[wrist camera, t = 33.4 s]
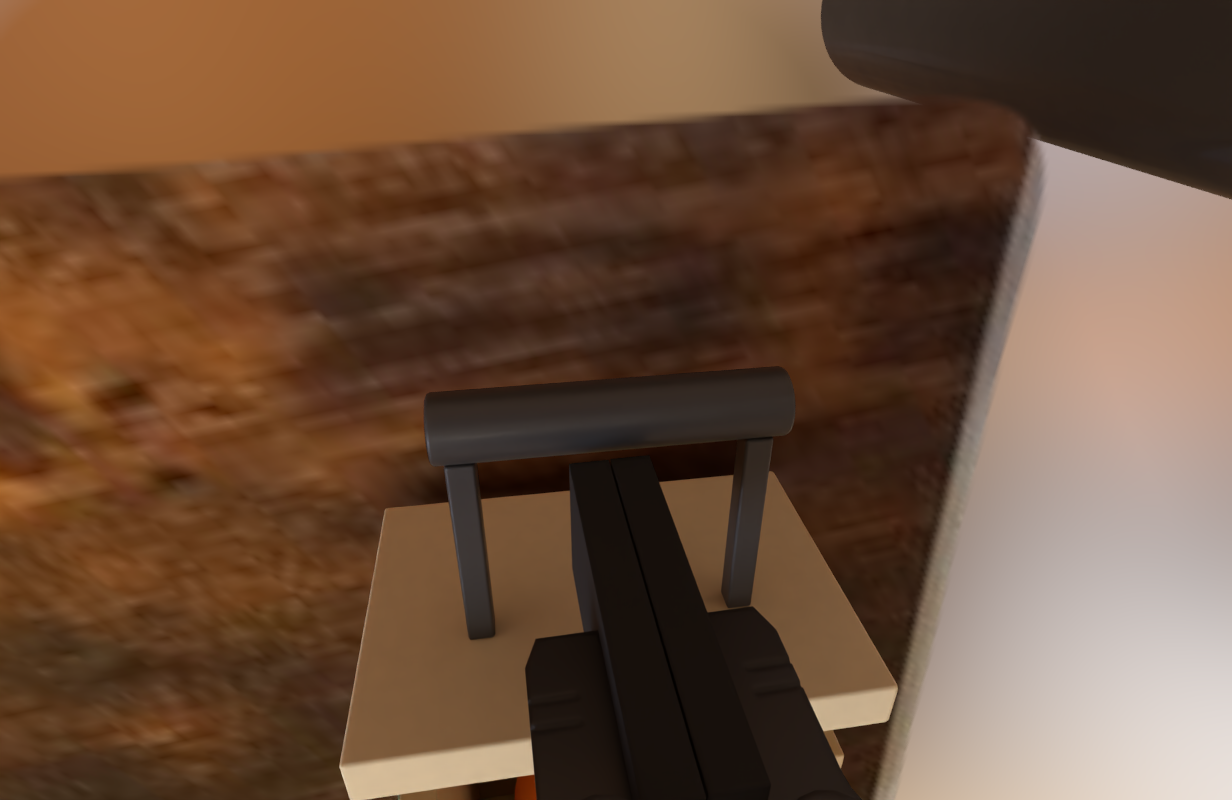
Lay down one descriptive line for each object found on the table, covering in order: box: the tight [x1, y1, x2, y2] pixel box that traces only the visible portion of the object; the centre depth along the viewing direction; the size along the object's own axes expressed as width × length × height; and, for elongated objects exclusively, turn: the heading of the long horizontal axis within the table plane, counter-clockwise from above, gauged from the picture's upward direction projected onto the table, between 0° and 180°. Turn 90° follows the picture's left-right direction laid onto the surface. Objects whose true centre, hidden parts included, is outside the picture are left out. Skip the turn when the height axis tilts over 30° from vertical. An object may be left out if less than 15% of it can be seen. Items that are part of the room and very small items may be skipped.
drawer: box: [339, 366, 898, 800], centre depth 20 cm, size 20×11×8 cm, turn 179°
